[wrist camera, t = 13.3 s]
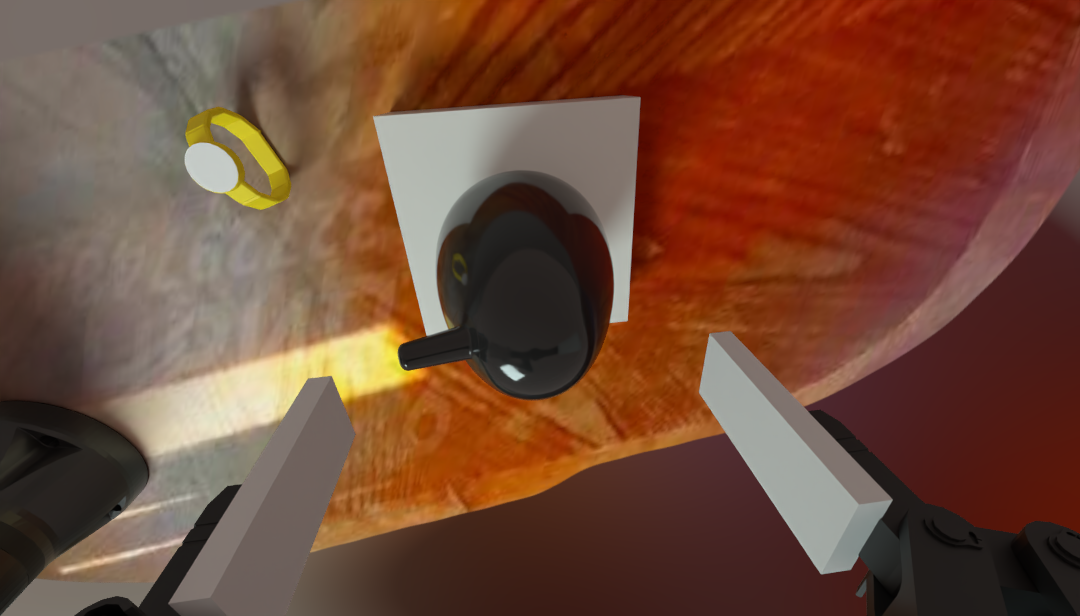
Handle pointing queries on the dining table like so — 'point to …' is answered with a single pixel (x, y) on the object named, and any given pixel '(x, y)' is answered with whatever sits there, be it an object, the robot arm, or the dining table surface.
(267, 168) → the watch
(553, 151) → the ceramic base
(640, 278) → the dining table surface
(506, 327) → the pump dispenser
